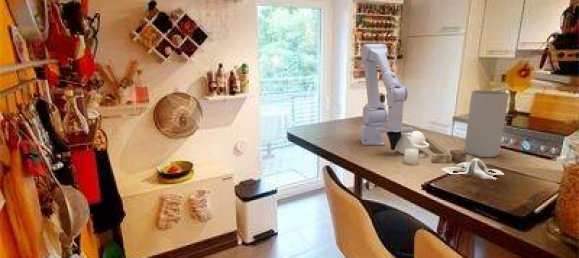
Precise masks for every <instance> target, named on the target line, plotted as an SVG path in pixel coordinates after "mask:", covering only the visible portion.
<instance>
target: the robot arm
mask: <svg viewBox="0 0 579 258" xmlns="http://www.w3.org/2000/svg"><path fill="white" fill-rule="evenodd" d="M388 52H389V51H388V46H387V45H386V44H385V43H364V44H363V45H362V47H361V50H360V59H361V65H362V66H363V69H364V79H365V87H366V94H367V103H366V104H365V105H364V106H363V107H362V121H363V122H364V123H361V124H360V139H359V141H360V142H361V144H362V145H363V146H384V145H385V143H384V141H383V133H385V134H386V135H387V138H388V141H389V145H390V147H389V148H390V150H391V151H396V145H397V142H398V141H399V139H400V138H401V136H402V135H403V134H406V133H413V131H414V128H413V127H411V126H409V127H408V126H403V113H404V105H405V104H404V103H405V102H406V101H407V99H408V90H407V88H406V87H404V86H403V85H402V84H401V83H400V81H399V79H398V76H397V73H396V72H394V71H392V69H391V66H390V63H389V59H388ZM377 67H378V68H379V70H380V73H382V77H381V80H382V83H383V85H384V88H385V90H386V94H385V98H386V105H387V109H388V110H387V109H386V105H385V104H384V103H382V102H381V99H380V90H379V84H378V81H379V80H378V74H377ZM386 122H387V123H386ZM385 123H386V126H383V125H385Z"/></svg>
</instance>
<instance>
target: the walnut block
mask: <svg viewBox="0 0 579 258" xmlns="http://www.w3.org/2000/svg"><path fill="white" fill-rule="evenodd" d="M449 153H450V154H451V155H452V161H451V163H452V162H453V163H454V164H460V163H463V162H467V154H468V153H467V152H466V151H465V150H464V151H463V150H461V149H451V150H449Z"/></svg>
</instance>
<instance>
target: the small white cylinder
mask: <svg viewBox="0 0 579 258" xmlns="http://www.w3.org/2000/svg"><path fill="white" fill-rule="evenodd" d="M419 152H420V149H419V150H418V149H415V148H406V149H405V154H403V155H404V156H403V157H404V158H403V163H404V164H406V165H413V166H414V165H417V164H419V163H418V162H419Z"/></svg>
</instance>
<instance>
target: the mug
mask: <svg viewBox="0 0 579 258" xmlns="http://www.w3.org/2000/svg"><path fill="white" fill-rule="evenodd" d="M425 138H426V137H425V134H423V133H422V132H421V131H419V130H413V133H402V136H401V138H400V139H399V141H398V142H397V145H396V147H395V149H396V150H397V151H398V152H399V153H400V154H403V155H404V154H405V149H406V148H415V149H418V150H419V151H420V150H427V149H429V144H428V143H427V142H426V139H425Z"/></svg>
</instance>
